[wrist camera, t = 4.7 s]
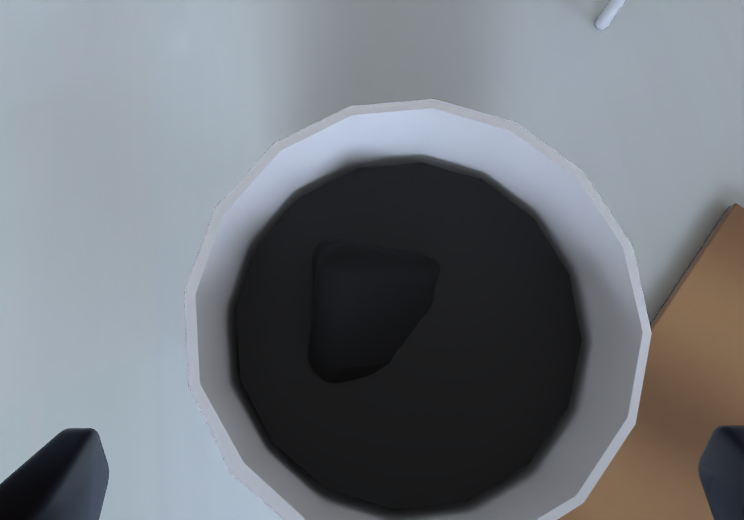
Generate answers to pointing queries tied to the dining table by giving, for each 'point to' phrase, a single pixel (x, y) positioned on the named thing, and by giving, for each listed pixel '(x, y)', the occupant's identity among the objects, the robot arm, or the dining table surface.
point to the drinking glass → (416, 321)
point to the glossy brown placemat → (682, 390)
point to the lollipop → (608, 13)
